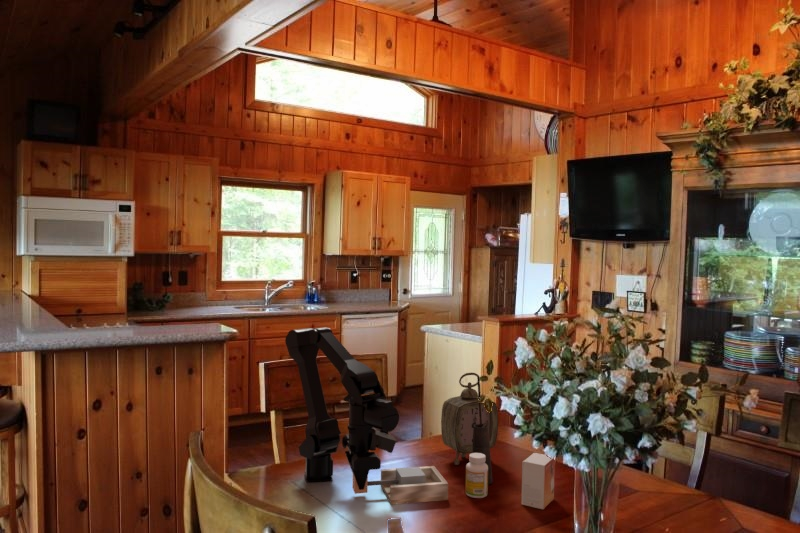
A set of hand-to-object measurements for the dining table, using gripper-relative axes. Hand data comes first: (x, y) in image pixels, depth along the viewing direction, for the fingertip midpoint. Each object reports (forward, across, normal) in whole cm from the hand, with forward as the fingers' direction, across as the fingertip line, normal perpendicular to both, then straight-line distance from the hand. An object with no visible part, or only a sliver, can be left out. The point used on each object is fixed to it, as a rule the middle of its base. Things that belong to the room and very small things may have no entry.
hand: (359, 486), depth 153 cm
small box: (+3, -11, -41) cm, 43 cm away
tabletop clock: (+3, +20, -34) cm, 40 cm away
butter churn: (+3, +4, -33) cm, 34 cm away
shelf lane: (+2, 0, -13) cm, 14 cm away
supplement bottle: (+3, -4, -28) cm, 29 cm away
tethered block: (+1, 0, -7) cm, 7 cm away
